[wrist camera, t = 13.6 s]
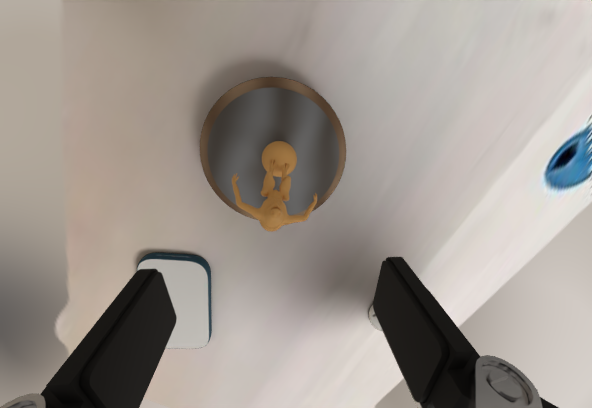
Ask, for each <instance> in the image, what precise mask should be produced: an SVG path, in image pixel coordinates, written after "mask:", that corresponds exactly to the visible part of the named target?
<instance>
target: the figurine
mask: <svg viewBox="0 0 592 408" xmlns="http://www.w3.org/2000/svg"><path fill="white" fill-rule="evenodd" d="M296 163H297V156H296V152H295V150H294V149H293V147H292V146H291V145H289V144H288V143H286V142H283V141H275V142H272V143H270V144H269V145H267V146H266V148H265V149H264V151H263V153H262V164H263V167H264V168H265V170H266V171H267V173H266V176H265V178H264V182H263V188H262V191H261V195H262V196H264V197H268V198H267V199H266V200H265V201H264V202H263V204H262V206H261V207H260V208H255V207H253V206H251V205H248V204H246V203H243V202H242V200H241V196H240V192H239V188H238V186H237V184H236V181H237V179H238V177H239V176H238V177H237V178H236V176H237V173H236V175H235V174H234V175H233V177H232V185H233V191H234V194H235V198H236V204H237V206H238V207H240V208H241V209H243V210H244V211H246V212H248V213H250V214H251V215H253V216H254V217H255V218H257V219H258V220H259V221H260V223H261V226H262V227H263V228H264V229H265V230H267V231H276V230H278V229H279V228H280V227H281V226H283V225H287V224H291V223H294V222H302V221H305V220H307V219H308V217H309V214H310V213H311V211H312V210H313V208H314V206H315V205H316V203H317V194H316V193H315V196H313V197H314V201H313V202H312V203H311V204H310V205H309V207H308V209H307V210H306V212H305V213H304V215H288V214H287V209H286V205H285V204H284V202H283V201H288V200H289V190H290V186H291V177H290V176H286V175H288V174H290V173H291V172H292V171H293V170H294V168H295V166H296ZM273 176H276V177H281V183H280V186H279V191H278V190H273V188H274V186H275V180H274V178H273ZM282 200H283V201H282Z"/></svg>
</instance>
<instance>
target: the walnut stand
mask: <svg viewBox="0 0 592 408" xmlns="http://www.w3.org/2000/svg"><path fill="white" fill-rule="evenodd" d="M275 141H283V142H286V143H288V144H289V145H291V146H292V147H293V149H294V150H295V152H296V156H297V163H296V166H295V168H294V170H293V171H292V172H291V173H290V174H288V175H286V176H290V177H291V186H290V190H289V200H288V201H283V200H282V201H283V202H284V204H285V205H286V209H287V214H288V215H304V213H305V212H306V210H307V209H308V207H309V205H310V204H311V203H312V202H313V201H314V197H313V196H315V193H316V194H317V203H316V205H315V206H314V208H313V210H315V209H316V208H318V207H319V206H320V205H322V204H323V203H324V202H325V201H326V200H327V199H328V198H329V196H330V195H331V194H332V193H333V191H334V190H335V188H336V186H337V185H338V183H339V181H340V178H341V176H342V173H343V170H344V166H345V160H346V143H345V137H344V132H343V129H342V126H341V123H340V121H339V119H338V117H337V115H336V113H335V112H334V110H333V109H332V108H331V106H330V105H329V104H328V103H327V102H326V100H325V99H324V98H323V97H322V96H320V95H319V94H318V93H317V92H315V91H314V90H313V89H311V88H309V87H307V86H306V85H304V84H301V83H299V82H296V81H294V80H290V79H286V78H279V77H263V78H257V79H252V80H249V81H246V82H244V83H241V84H239V85H237V86H236V87H234V88H232V89H230V90H229V91H228V92H227V93H225V94H224V95H223V96H222V97H221V98H220V99H219V100H218V101H217V102H216V103H215V105H214V106H213V107H212V109H211V110H210V112H209V114H208V116H207V118H206V120H205V122H204V125H203V129H202V132H201V138H200V157H201V163H202V167H203V171H204V173H205V176H206V178H207V180H208V182H209V184H210V186H211V187H212V189H213V190H214V191H215V193H216V194H217V195H218V196H219V197H220V198H221V200H222V201H223V202H225V203H226V204H227V205H228V206H229V207H231V208H232V209H234V210H235V211H237V212H239V213H241V214H243V215H245V216H247V217H250V218H253V219H257V218H255V217H254V216H253V215H251V214H250V213H248V212H246V211H244V210H243V209H241V208H240V207H238V206H237V204H236V198H235V194H234V191H233V185H232V177H233V175H234V174H235V175H236V173H237V176H236V178H237V177H238V176H239V177H238V179H237V181H236V184H237V186H238V188H239V192H240V196H241V200H242V202H243V203H246V204H248V205H251V206H253V207H255V208H260V207H261V206H262V204H263V202H264V201H265V200H266V199H267V198H268V197H264V196H262V195H261V191H262V188H263V182H264V178H265V176H266V173H267V171H266V170H265V168H264V167H263V164H262V153H263V151H264V149H265V148H266V146H267V145H269V144H270V143H272V142H275ZM273 178H274V180H275V186H274V188H273V190H278V191H279V186H280V183H281V177H276V176H273ZM313 210H312V211H313ZM312 211H311V212H312ZM257 220H258V219H257Z"/></svg>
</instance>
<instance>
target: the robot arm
mask: <svg viewBox="0 0 592 408" xmlns="http://www.w3.org/2000/svg"><path fill="white" fill-rule="evenodd" d="M369 319H370V321H371V324H372V325H373V326H374V328H376V329H377V330H380V331H383V333H384V335H385V337H386V339H387V342H388V344H389V346H390V348H391V351H392V353H393V355H394V357H395V359H396V362H397V364H398V366H399V368H400V370H401V373H402V375H403V377H404V379H405V381H406V384H407V386H408V388H409V390H410V393H411V395H412V397H413V399H414V401H415V404H416V406H417V408H558V407H556V406H555V405H553V404H551V403H549V402H547V401H546V400H544V399H542V398H541V397H539V394H538V392H537V389H536V388H535V387H534V385H533V384H532V382H531V381H530V380H529V379H528V378H527V377H526V376H525V375H524V374H523V373H522V372H521V371H520V370H518V369H517V368H516V367H515V366H513V365H512V364H510V363H508V362H506V361H505V360H503V359H500V358H497V357H495V356H488V355H486V356H481V357H480V356H479V354H478V353H477V352H476V350H475V349H474V348H473V347H472V345H471V344H470V343H469V342H468V340H467V339H466V338H465V336H464V335H463V334H462V333H461V331H460V330H459V329H458V327H457V326H456V325H455V324H454V322H453V321H452V320H451V318H450V317H449V316H448V315H447V313H446V312H445V311H444V309H443V308H442V307H441V306H440V304H439V303H438V302H437V300H436V299H435V298H434V297H433V295H432V294H431V293H430V292H429V291H428V289H426V287H425V286H424V285H423V284H422V282H421V281H420V280H419V278H418V277H417V276H416V275H415V273H414V272H413V271H412V269H411V268H410V267H409V265H408V264H407V263H406V262H405V260H404V259H403V258H402V257H388V258H386V261H383V262H382V266H381V270H380V275H379V279H378V283H377V288H376V292H375V297H374V301H373V305H372V306H371V308H370V311H369ZM176 320H177V317H176V313H175V310H174V307H173V304H172V301H171V298H170V295H169V292H168V289H167V287H166V284H165V281H164V278H163V275H162V273H161V272H158V270H157V269H140V270H138V271H137V272H136V273H135V274H134V276H133V277H132V278H131V279H130V281H129V282H128V283H127V284H126V286H125V287H124V288H123V289H122V291H121V292H120V293H119V295H118V296H117V297H116V298H115V300H114V301H113V302H112V303H111V305H110V306H109V307H108V308H107V310H106V311H105V312H104V313H103V315H102V316H101V317H100V319H99V320H98V321H97V322H96V324H95V325H94V326H93V327H92V329H91V330H90V331H89V332H88V334H87V335H86V336H85V337H84V339H83V340H82V341H81V342H80V344H79V345H78V346H77V348H76V349H75V350H74V351H73V353H72V354H71V355H70V356H69V358H68V359H67V360H66V361H65V363H64V364H63V365H62V366H61V368H60V369H59V370H58V372H57V373H56V374H55V375H54V377H53V378H52V379H51V381H50V382H49V383H48V384H47V385H46V386H47V387H46V388H45V389H44V390H43V392H42V393H41V394H27V395H24V396H21V397H18V398H16V399H14V400H12V401H10V402H8V403H6V404H5V405H3V406H1V407H0V408H139V407H140V404H141V402H142V400H143V397H144V395H145V393H146V391H147V388H148V386H149V384H150V382H151V379H152V377H153V375H154V372H155V370H156V368H157V366H158V363H159V361H160V359H161V357H162V354H163V352H164V350H165V347H166V345H167V343H168V341H169V338H170V336H171V334H172V332H173V329H174V327H175V325H176Z"/></svg>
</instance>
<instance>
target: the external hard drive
mask: <svg viewBox="0 0 592 408" xmlns="http://www.w3.org/2000/svg"><path fill="white" fill-rule="evenodd" d="M160 259H161V260H160ZM140 269H157V270H158V272H161V273H162V275H163V278H164V281H165V284H166V287H167V289H168V292H169V295H170V298H171V301H172V304H173V307H174V310H175V313H176V317H177V320H176V325H175V327H174V329H173V332H172V334H171V336H170V338H169V341H168V343H167V345H166V347H165V348H168V349H197V348H202V347H204V346H206V345H207V344H208V342H209V340H210V337H211V331H212V328H211V270H210V266H209V264H208V263H207V262H206V260H204V259H203V258H201V257H199V256H196V255H188V254H174V253H150V254H148V255H146V256H144V257H143V258H142V259H141V261H140V262H139V264H138V266H137V271H138V270H140Z"/></svg>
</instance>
